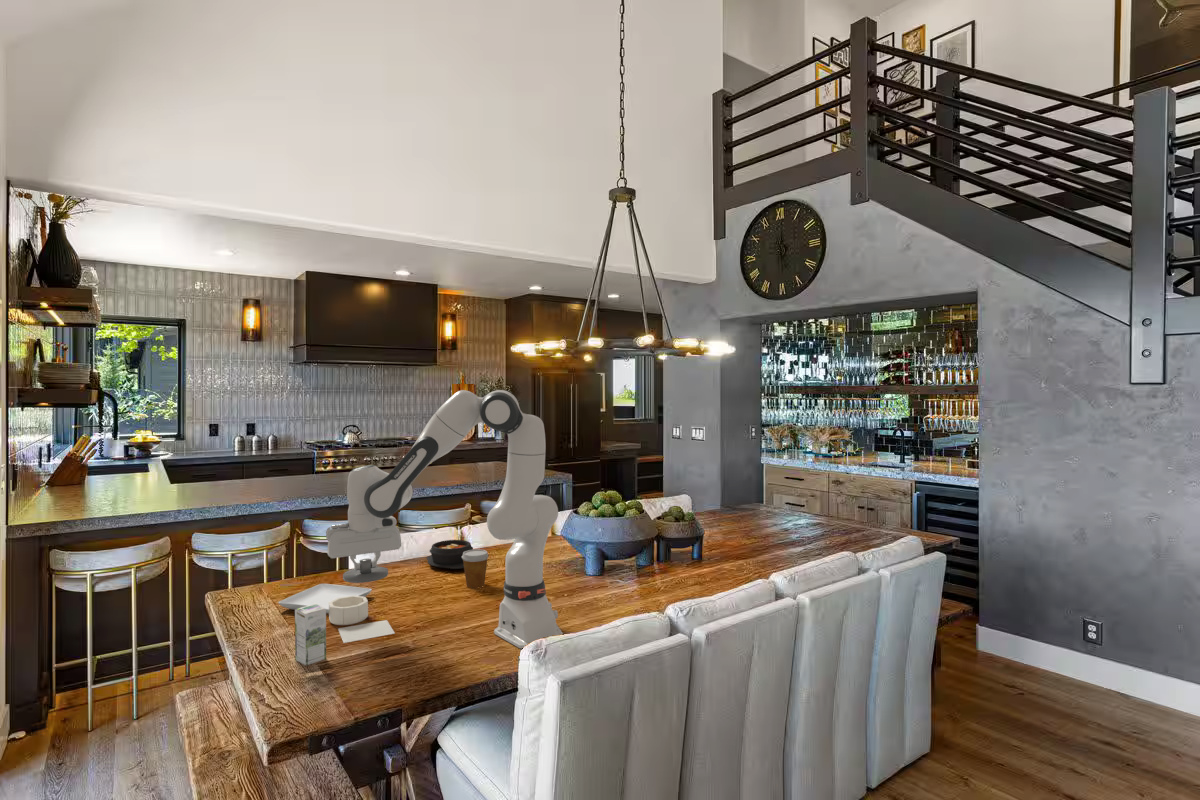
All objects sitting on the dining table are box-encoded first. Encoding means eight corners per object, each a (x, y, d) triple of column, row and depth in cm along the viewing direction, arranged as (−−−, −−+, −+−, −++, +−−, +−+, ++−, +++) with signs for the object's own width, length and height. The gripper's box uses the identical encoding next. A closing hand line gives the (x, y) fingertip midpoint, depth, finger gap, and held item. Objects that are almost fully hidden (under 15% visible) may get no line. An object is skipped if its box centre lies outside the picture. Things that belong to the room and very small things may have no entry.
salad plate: (373, 597, 226) (373, 587, 226) (332, 619, 206) (332, 608, 205) (321, 592, 232) (321, 582, 232) (276, 612, 211) (276, 602, 211)
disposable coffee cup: (491, 581, 241) (491, 549, 241) (484, 590, 232) (484, 556, 231) (466, 581, 242) (466, 548, 242) (458, 589, 233) (458, 555, 232)
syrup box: (316, 655, 178) (314, 602, 178) (327, 661, 174) (326, 607, 174) (295, 662, 174) (293, 608, 173) (306, 668, 170) (304, 613, 169)
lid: (392, 578, 190) (391, 561, 190) (346, 585, 184) (345, 568, 184) (383, 568, 201) (383, 552, 201) (340, 574, 195) (339, 558, 195)
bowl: (370, 623, 201) (369, 604, 201) (332, 630, 196) (331, 610, 196) (364, 612, 210) (363, 593, 210) (327, 618, 205) (327, 599, 205)
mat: (395, 635, 191) (394, 633, 191) (343, 645, 184) (343, 642, 184) (386, 622, 202) (386, 619, 202) (337, 631, 195) (337, 628, 195)
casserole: (488, 567, 260) (488, 545, 260) (446, 576, 248) (446, 554, 247) (456, 554, 279) (456, 534, 278) (415, 563, 266) (415, 542, 266)
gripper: (327, 527, 184) (328, 577, 185) (401, 519, 194) (403, 565, 194) (324, 523, 190) (326, 571, 190) (397, 515, 200) (398, 561, 200)
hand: (365, 568), depth 192 cm, fingers closed on lid, 3 cm apart
